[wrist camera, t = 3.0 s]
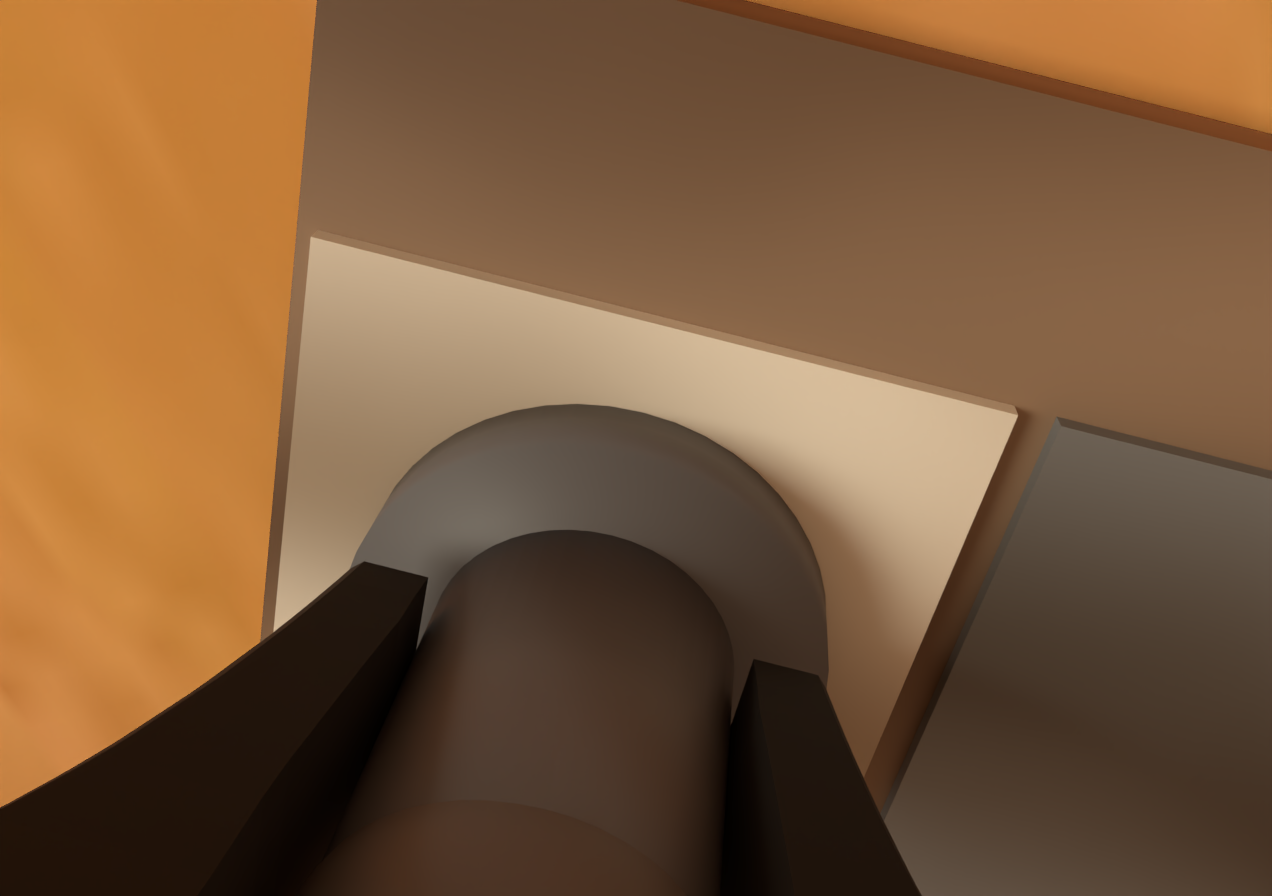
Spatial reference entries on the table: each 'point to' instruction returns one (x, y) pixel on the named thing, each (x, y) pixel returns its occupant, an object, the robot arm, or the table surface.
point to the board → (842, 381)
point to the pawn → (572, 659)
